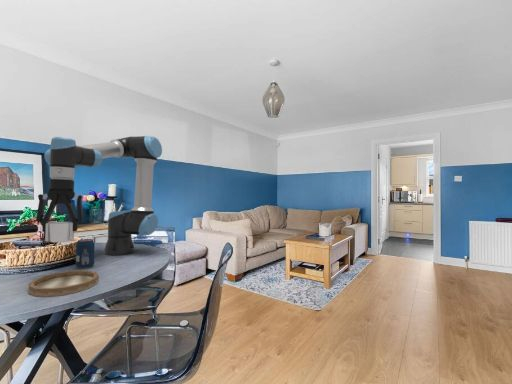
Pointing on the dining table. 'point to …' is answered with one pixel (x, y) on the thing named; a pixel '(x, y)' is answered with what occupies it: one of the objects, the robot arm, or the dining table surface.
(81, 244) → the dark blue box
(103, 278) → the dining table surface
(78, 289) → the round tray
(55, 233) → the shot glass
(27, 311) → the dining table surface
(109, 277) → the dining table surface
